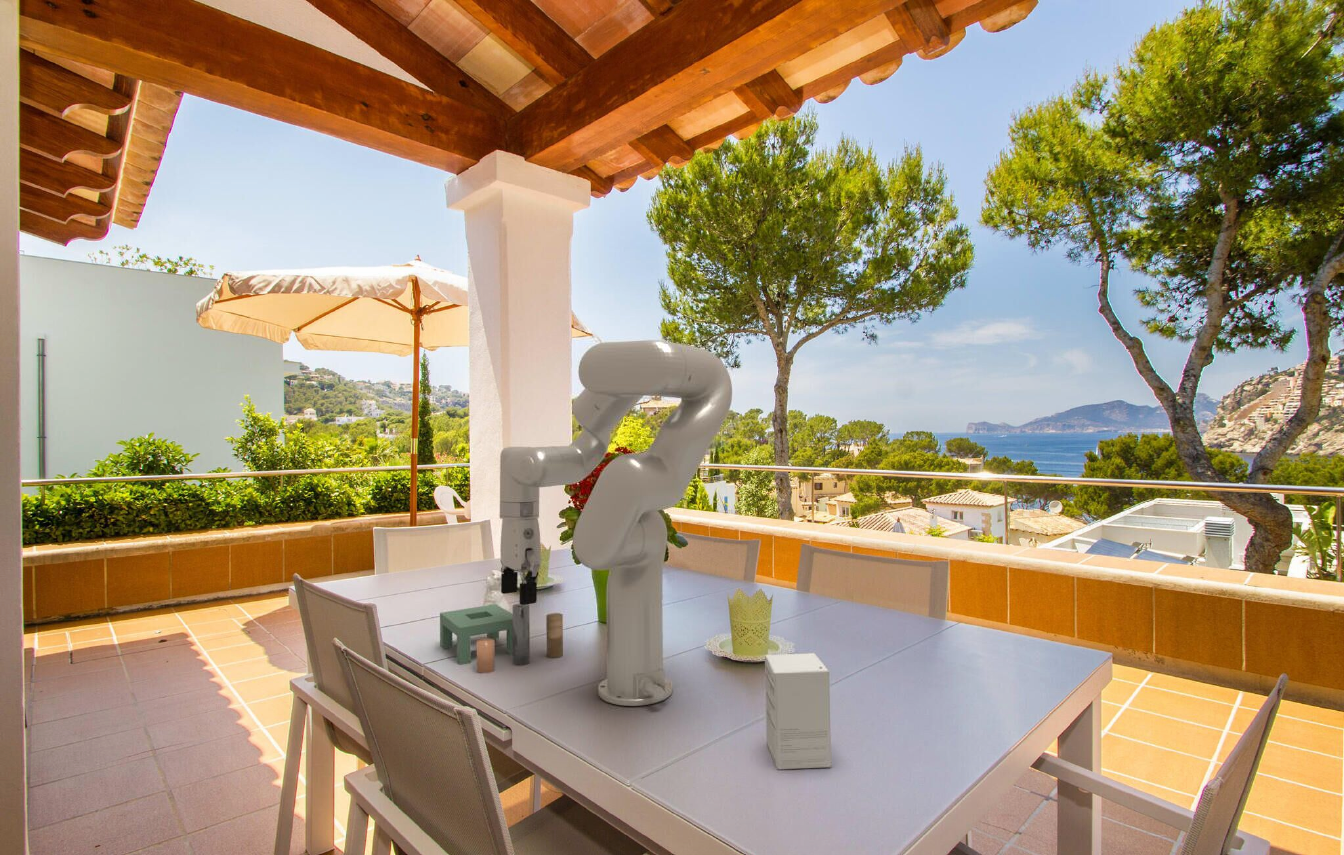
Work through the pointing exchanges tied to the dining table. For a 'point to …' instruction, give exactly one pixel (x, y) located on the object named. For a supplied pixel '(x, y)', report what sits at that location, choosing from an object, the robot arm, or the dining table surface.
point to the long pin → (521, 634)
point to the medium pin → (554, 635)
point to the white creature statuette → (495, 591)
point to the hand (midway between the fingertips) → (518, 598)
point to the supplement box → (798, 711)
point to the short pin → (485, 655)
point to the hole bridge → (474, 627)
